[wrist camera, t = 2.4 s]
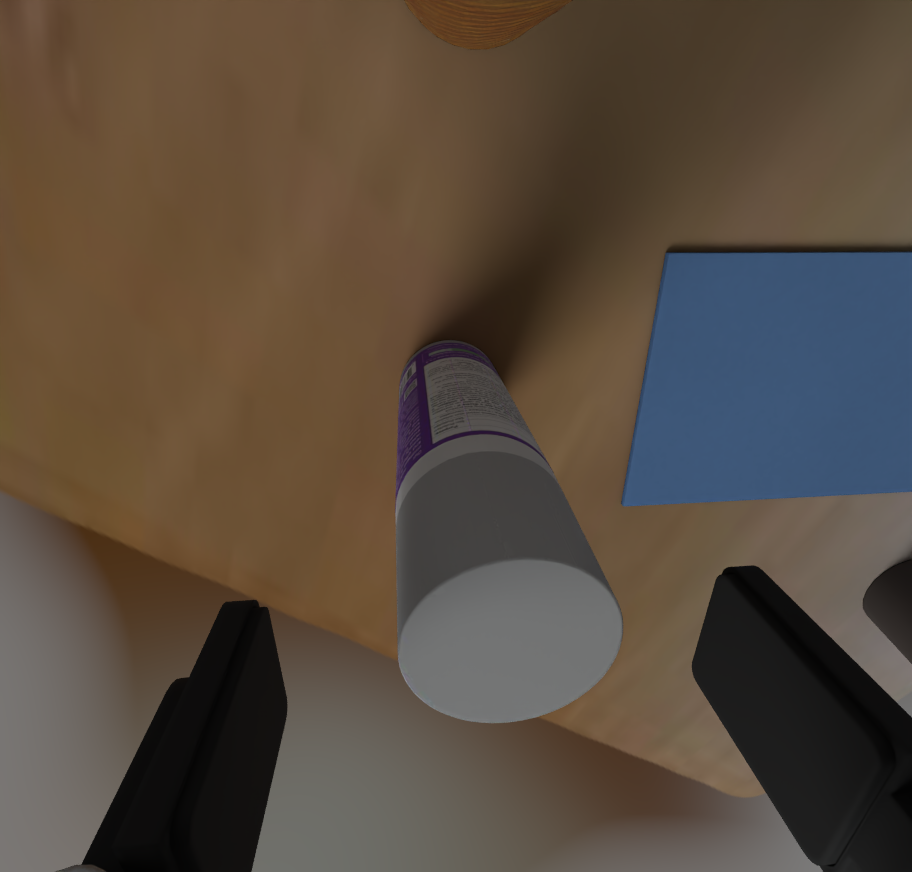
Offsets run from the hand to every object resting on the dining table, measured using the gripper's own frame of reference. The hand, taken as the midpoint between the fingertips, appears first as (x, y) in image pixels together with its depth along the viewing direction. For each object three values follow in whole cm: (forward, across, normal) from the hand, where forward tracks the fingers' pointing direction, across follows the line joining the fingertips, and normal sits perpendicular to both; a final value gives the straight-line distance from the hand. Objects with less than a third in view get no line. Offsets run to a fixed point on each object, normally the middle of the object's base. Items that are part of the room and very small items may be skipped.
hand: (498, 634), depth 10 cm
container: (+14, 0, 0) cm, 15 cm away
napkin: (+14, -20, 0) cm, 25 cm away
